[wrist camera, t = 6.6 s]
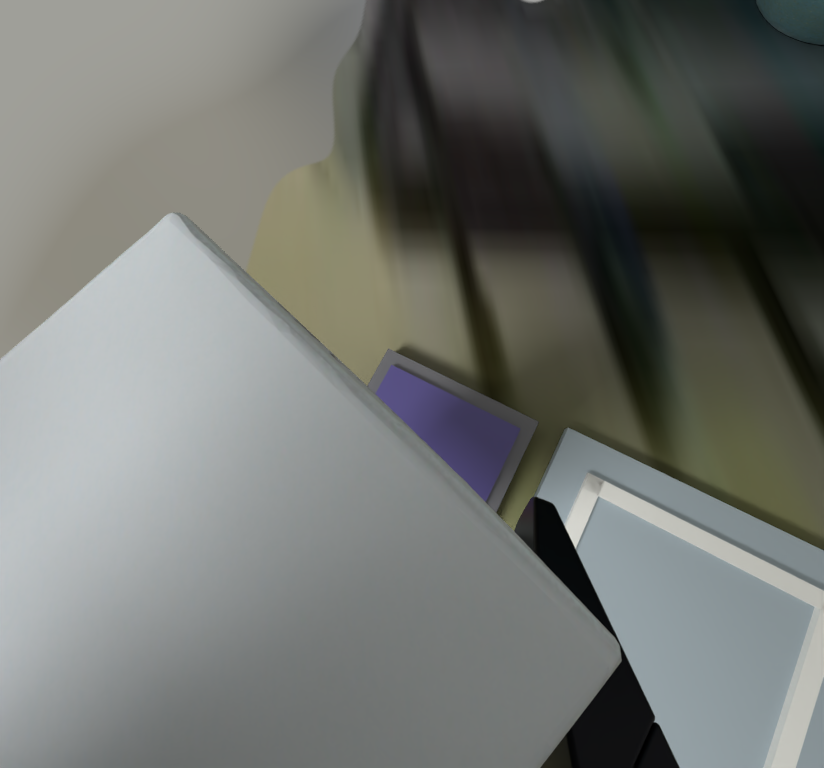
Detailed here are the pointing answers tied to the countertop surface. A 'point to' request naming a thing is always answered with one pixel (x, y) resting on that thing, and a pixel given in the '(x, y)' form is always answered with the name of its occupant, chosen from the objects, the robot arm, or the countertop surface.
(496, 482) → the ink pad
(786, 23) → the teal bowl
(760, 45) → the countertop surface
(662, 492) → the board
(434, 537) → the skincare box
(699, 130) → the countertop surface
